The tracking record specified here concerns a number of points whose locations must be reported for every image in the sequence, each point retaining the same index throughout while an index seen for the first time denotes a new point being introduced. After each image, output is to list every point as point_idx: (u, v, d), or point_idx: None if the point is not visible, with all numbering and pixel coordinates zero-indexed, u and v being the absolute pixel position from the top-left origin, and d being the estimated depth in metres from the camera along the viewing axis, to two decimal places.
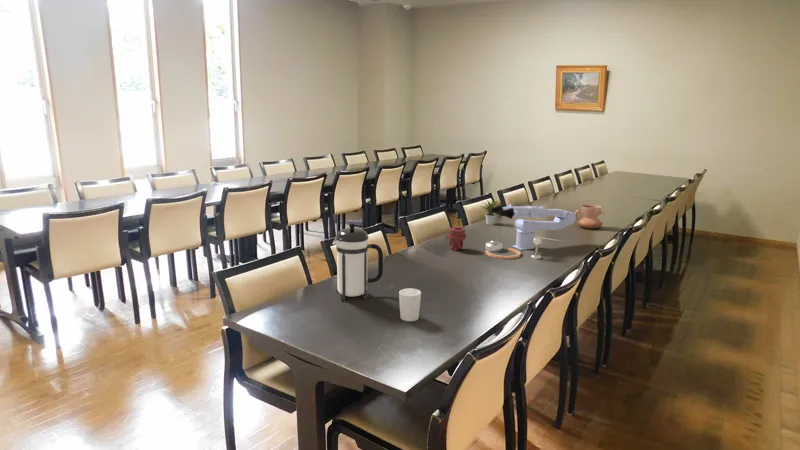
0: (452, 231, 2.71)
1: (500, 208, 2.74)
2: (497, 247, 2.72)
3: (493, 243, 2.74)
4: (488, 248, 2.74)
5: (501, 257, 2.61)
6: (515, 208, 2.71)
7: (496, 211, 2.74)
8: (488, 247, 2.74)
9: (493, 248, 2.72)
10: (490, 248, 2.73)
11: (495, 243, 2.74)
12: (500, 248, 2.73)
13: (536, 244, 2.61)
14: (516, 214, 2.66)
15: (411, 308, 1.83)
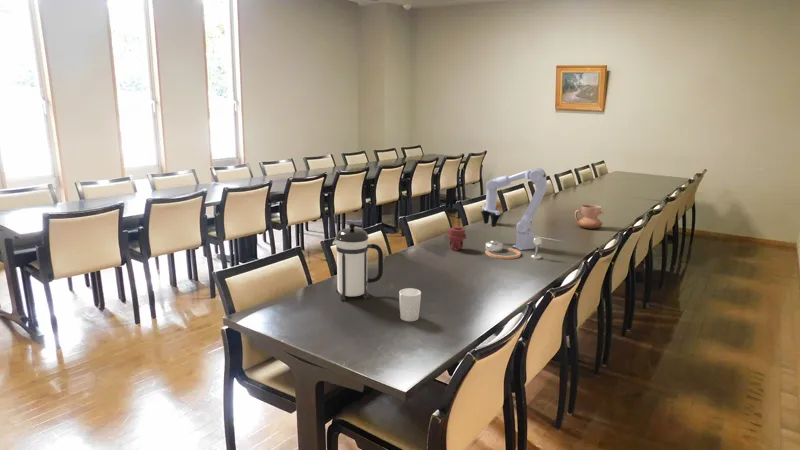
0: (452, 231, 2.71)
1: (485, 214, 2.89)
2: (497, 247, 2.72)
3: (493, 243, 2.74)
4: (488, 248, 2.74)
5: (501, 257, 2.61)
6: (489, 206, 2.83)
7: (487, 217, 2.90)
8: (488, 247, 2.74)
9: (493, 248, 2.72)
10: (490, 248, 2.73)
11: (495, 243, 2.74)
12: (500, 248, 2.73)
13: (536, 244, 2.61)
14: (498, 213, 2.79)
15: (411, 308, 1.83)
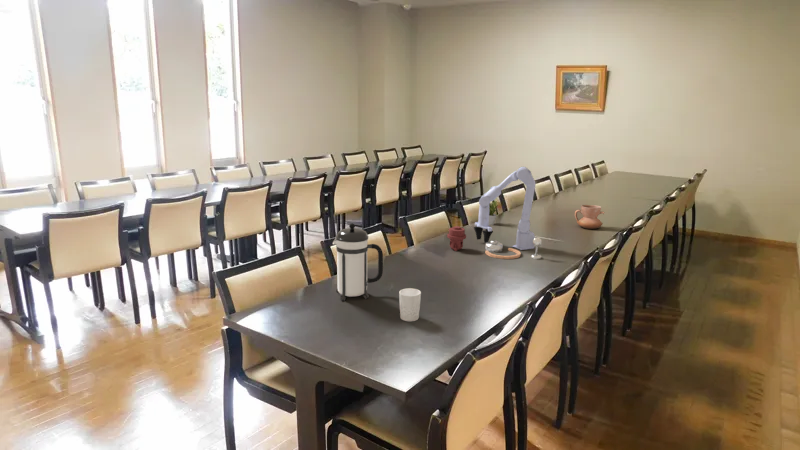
0: (452, 231, 2.71)
1: (478, 229, 2.88)
2: (497, 247, 2.72)
3: (493, 243, 2.74)
4: (488, 248, 2.74)
5: (501, 257, 2.61)
6: (482, 222, 2.82)
7: (480, 233, 2.90)
8: (488, 247, 2.74)
9: (493, 248, 2.72)
10: (490, 248, 2.73)
11: (495, 243, 2.74)
12: (500, 248, 2.73)
13: (536, 244, 2.61)
14: (490, 229, 2.78)
15: (411, 308, 1.83)
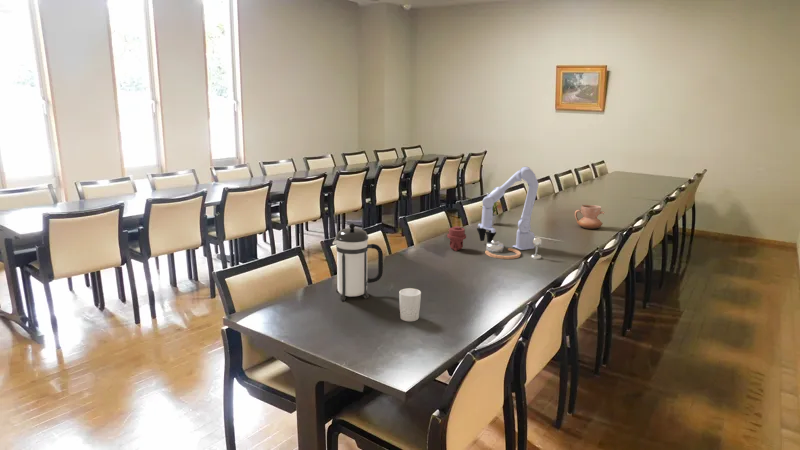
0: (452, 231, 2.71)
1: (481, 231, 2.85)
2: (498, 247, 2.71)
3: (494, 243, 2.74)
4: (489, 248, 2.73)
5: (501, 257, 2.61)
6: (485, 223, 2.79)
7: (483, 235, 2.87)
8: (489, 247, 2.73)
9: (494, 248, 2.72)
10: (491, 248, 2.72)
11: (496, 243, 2.73)
12: (501, 248, 2.73)
13: (536, 244, 2.61)
14: (493, 231, 2.75)
15: (411, 308, 1.83)
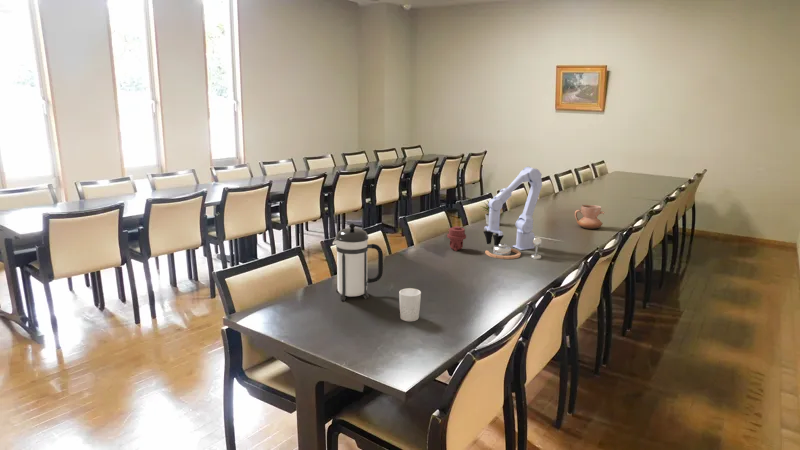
0: (452, 231, 2.71)
1: (488, 234, 2.79)
2: (505, 251, 2.65)
3: (501, 246, 2.67)
4: (496, 251, 2.67)
5: (501, 257, 2.61)
6: (492, 226, 2.73)
7: (490, 237, 2.80)
8: (496, 250, 2.67)
9: (501, 252, 2.66)
10: (498, 251, 2.66)
11: (503, 246, 2.67)
12: (508, 252, 2.66)
13: (536, 244, 2.61)
14: (501, 233, 2.69)
15: (411, 308, 1.83)
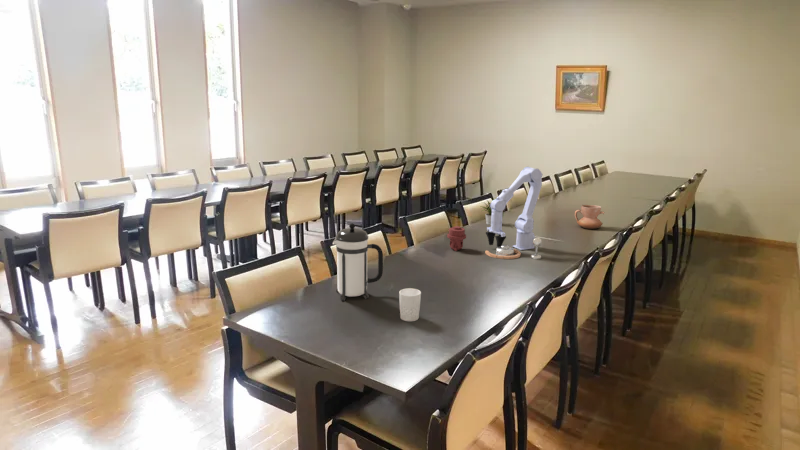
0: (452, 231, 2.71)
1: (490, 235, 2.77)
2: (508, 252, 2.63)
3: (504, 248, 2.65)
4: (499, 253, 2.65)
5: (501, 257, 2.61)
6: (494, 227, 2.71)
7: (492, 238, 2.78)
8: (499, 252, 2.65)
9: (504, 253, 2.63)
10: (501, 253, 2.64)
11: (506, 248, 2.65)
12: (511, 253, 2.64)
13: (536, 244, 2.61)
14: (503, 235, 2.67)
15: (411, 308, 1.83)
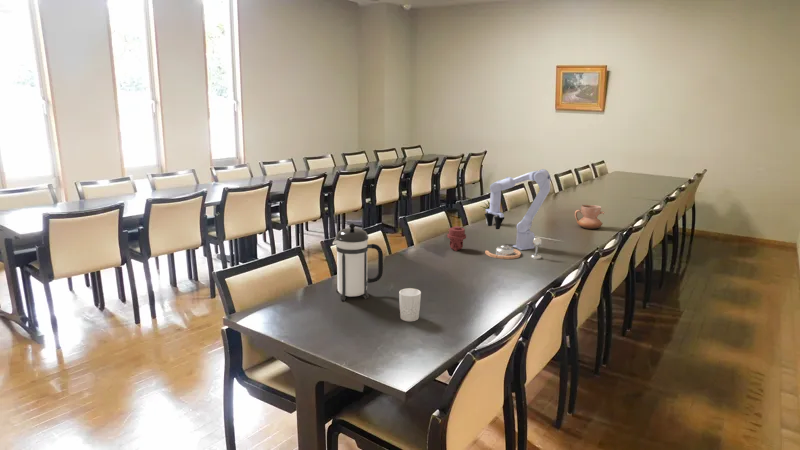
0: (452, 231, 2.71)
1: (489, 216, 2.88)
2: (508, 252, 2.63)
3: (504, 248, 2.65)
4: (499, 253, 2.65)
5: (501, 257, 2.61)
6: (493, 208, 2.81)
7: (491, 220, 2.89)
8: (499, 252, 2.65)
9: (504, 253, 2.63)
10: (501, 253, 2.64)
11: (506, 248, 2.65)
12: (511, 253, 2.64)
13: (536, 244, 2.61)
14: (502, 215, 2.78)
15: (411, 308, 1.83)
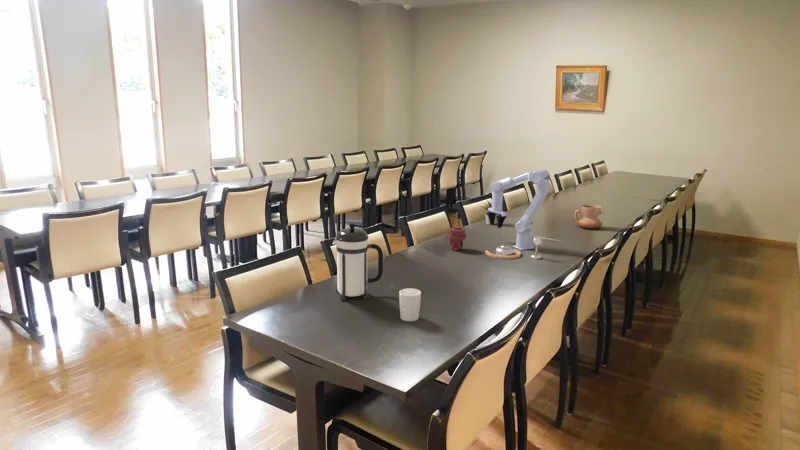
0: (452, 231, 2.71)
1: (491, 215, 2.91)
2: (508, 252, 2.63)
3: (504, 248, 2.65)
4: (499, 253, 2.65)
5: (501, 257, 2.61)
6: (495, 207, 2.84)
7: (493, 219, 2.92)
8: (499, 252, 2.65)
9: (504, 253, 2.63)
10: (501, 253, 2.64)
11: (506, 248, 2.65)
12: (511, 253, 2.64)
13: (536, 244, 2.61)
14: (504, 214, 2.81)
15: (411, 308, 1.83)
